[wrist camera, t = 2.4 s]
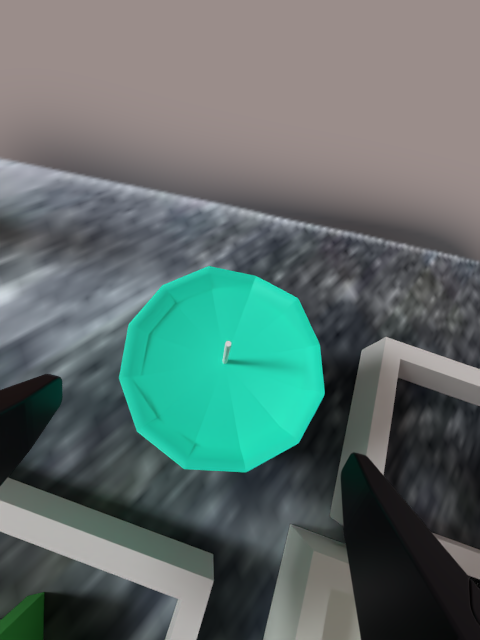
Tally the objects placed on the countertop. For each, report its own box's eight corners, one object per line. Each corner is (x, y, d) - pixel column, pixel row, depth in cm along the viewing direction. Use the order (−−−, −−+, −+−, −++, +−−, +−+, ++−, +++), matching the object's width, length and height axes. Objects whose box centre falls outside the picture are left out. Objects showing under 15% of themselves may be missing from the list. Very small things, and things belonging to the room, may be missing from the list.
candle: (248, 466, 17) (317, 529, 6) (150, 429, 18) (43, 426, 6) (278, 367, 20) (370, 280, 8) (189, 335, 20) (162, 208, 8)
